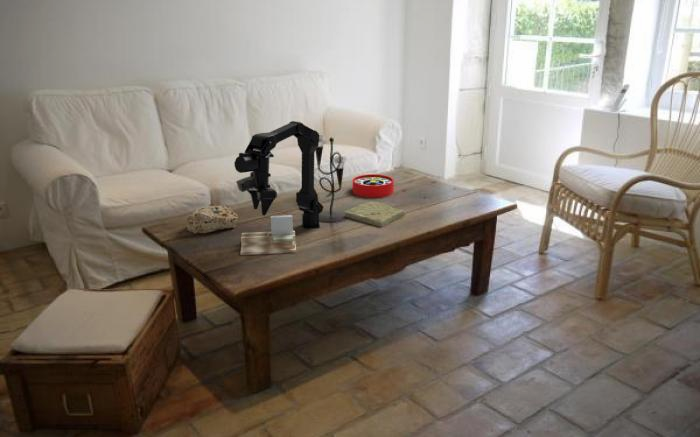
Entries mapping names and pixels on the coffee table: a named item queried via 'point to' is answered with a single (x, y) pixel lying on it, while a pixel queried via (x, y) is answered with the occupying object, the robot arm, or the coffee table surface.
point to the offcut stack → (282, 242)
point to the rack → (261, 244)
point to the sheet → (282, 225)
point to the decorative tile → (374, 213)
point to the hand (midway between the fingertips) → (259, 212)
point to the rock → (211, 219)
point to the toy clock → (373, 185)
